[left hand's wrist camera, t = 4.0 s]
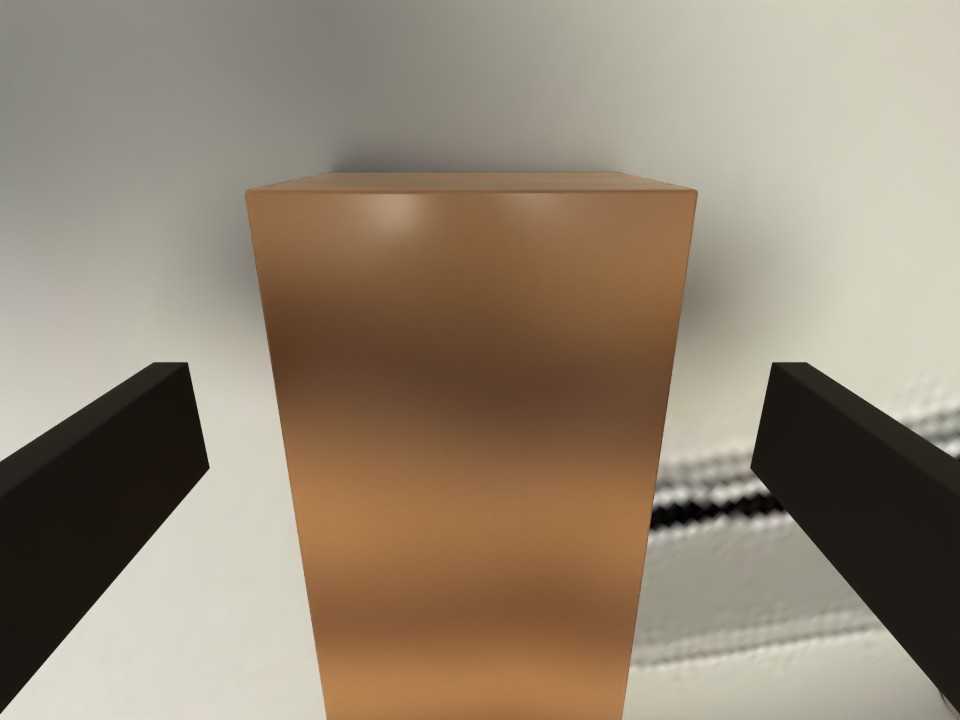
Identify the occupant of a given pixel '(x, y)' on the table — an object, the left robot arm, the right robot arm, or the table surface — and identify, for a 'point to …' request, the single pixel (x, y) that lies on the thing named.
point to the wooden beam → (472, 427)
